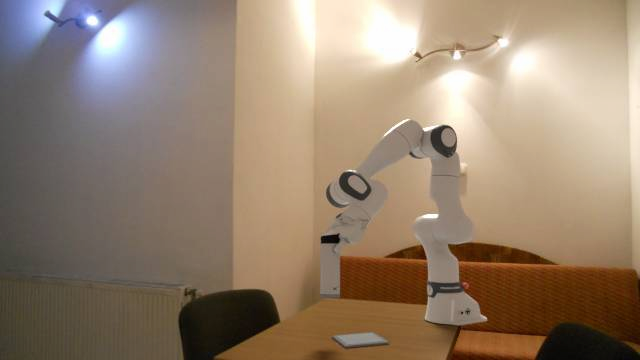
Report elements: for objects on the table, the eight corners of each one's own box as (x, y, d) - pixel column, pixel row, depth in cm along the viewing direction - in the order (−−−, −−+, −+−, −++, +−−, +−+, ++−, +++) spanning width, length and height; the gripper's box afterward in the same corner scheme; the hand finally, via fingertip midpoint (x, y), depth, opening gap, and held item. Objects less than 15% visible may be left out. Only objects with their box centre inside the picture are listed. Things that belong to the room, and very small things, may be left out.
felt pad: (372, 334, 149) (372, 331, 149) (389, 343, 138) (389, 341, 138) (332, 337, 145) (332, 335, 145) (345, 348, 134) (345, 345, 134)
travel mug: (340, 298, 140) (340, 232, 144) (319, 298, 141) (319, 232, 145) (341, 296, 147) (341, 233, 150) (321, 296, 147) (321, 233, 151)
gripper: (377, 226, 143) (351, 259, 138) (345, 228, 161) (321, 257, 156) (364, 211, 142) (337, 244, 136) (334, 215, 160) (309, 244, 154)
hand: (329, 251), depth 146 cm, fingers closed on travel mug, 6 cm apart
